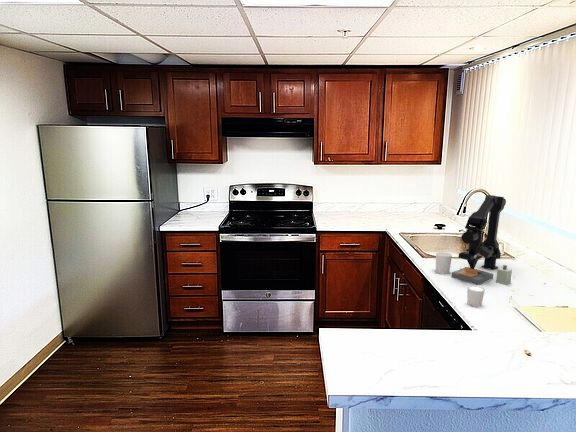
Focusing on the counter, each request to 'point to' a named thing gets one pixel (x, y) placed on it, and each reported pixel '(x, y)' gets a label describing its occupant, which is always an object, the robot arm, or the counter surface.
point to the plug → (504, 275)
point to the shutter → (469, 272)
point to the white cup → (443, 262)
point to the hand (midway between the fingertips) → (472, 269)
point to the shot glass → (475, 295)
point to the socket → (476, 279)
